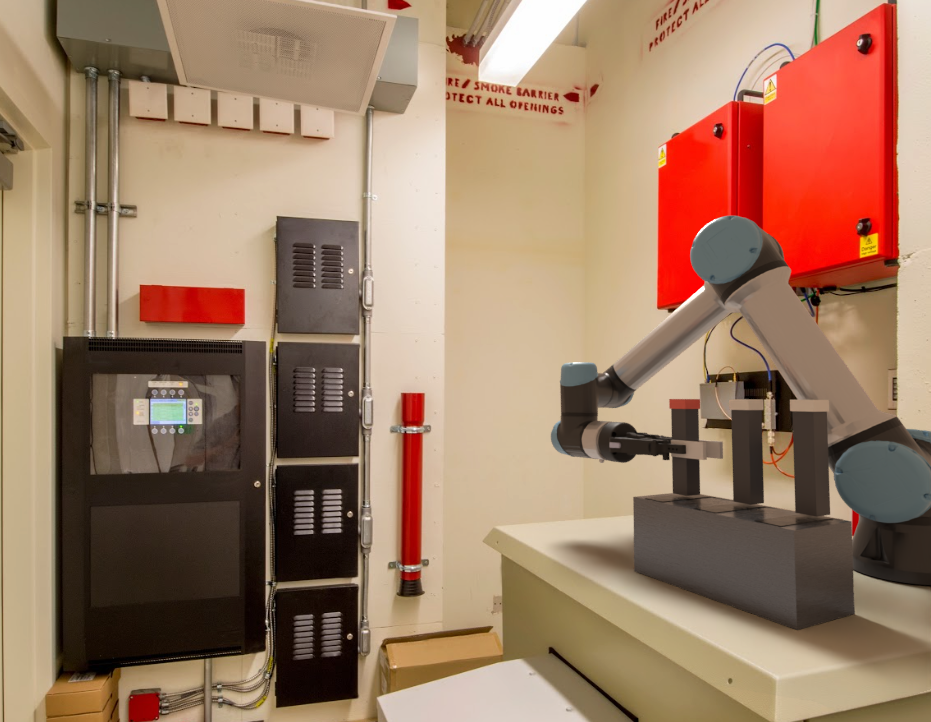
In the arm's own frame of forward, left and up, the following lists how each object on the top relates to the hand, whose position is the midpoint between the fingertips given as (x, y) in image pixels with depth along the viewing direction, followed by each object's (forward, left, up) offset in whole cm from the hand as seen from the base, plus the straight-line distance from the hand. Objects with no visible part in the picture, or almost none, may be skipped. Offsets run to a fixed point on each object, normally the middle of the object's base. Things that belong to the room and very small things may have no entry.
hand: (712, 450), depth 95 cm
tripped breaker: (+4, -3, -8) cm, 9 cm away
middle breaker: (-5, +1, -8) cm, 9 cm away
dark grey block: (-2, +4, -20) cm, 21 cm away
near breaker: (-13, +8, -8) cm, 16 cm away
